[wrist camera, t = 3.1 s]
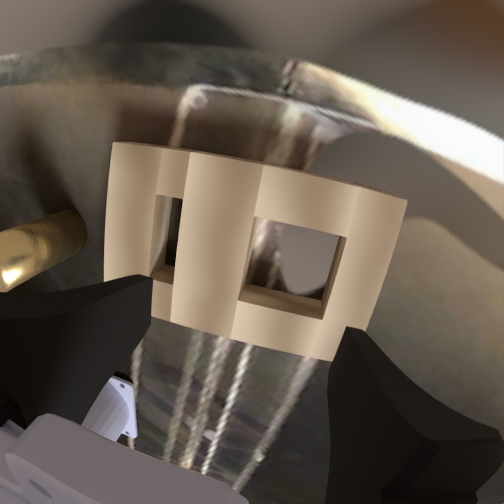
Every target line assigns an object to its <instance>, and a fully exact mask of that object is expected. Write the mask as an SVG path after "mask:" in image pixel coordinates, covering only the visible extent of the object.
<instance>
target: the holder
mask: <svg viewBox="0 0 504 504" xmlns="http://www.w3.org/2000/svg"><path fill="white" fill-rule="evenodd" d="M173 197H174V198H180V199H183V205H182V212H181V220H180V228H179V236H178V244H177V253H176V262H175V267H174V266H170V265H166V264H165V261H166V251H167V241H168V232H169V223H170V214H171V206H172V199H173ZM406 205H407V200H405V199H403V198H401V197H399V196H397V195H395V194H392V193H389V192H385V191H382V190H378V189H375V188H371V187H367V186H363V185H360V184H356V183H352V182H348V181H344V180H340V179H336V178H332V177H328V176H324V175H320V174H316V173H311V172H307V171H303V170H298V169H294V168H289V167H284V166H280V165H275V164H270V163H265V162H260V161H255V160H250V159H244V158H239V157H233V156H228V155H222V154H216V153H210V152H204V151H197V150H191V149H184V148H177V147H170V146H162V145H155V144H147V143H138V142H113V146H112V154H111V162H110V171H109V181H108V193H107V206H106V222H105V246H104V282H106V281H109V280H113V279H117V278H121V277H125V276H130V275H135V274H141V275H144V276H148V277H151V278H154V279H153V293H152V309H151V316H153V317H157V318H160V319H163V320H166V321H170V322H173V323H176V324H180V325H183V326H186V327H190V328H193V329H197V330H201V331H204V332H208V333H211V334H215V335H219V336H223V337H226V338H230V339H234V340H238V341H242V342H246V343H250V344H254V345H258V346H262V347H267V348H271V349H275V350H280V351H284V352H289V353H293V354H298V355H302V356H307V357H312V358H317V359H322V360H327V361H333V359H334V356H335V354H336V351H337V349H338V346H339V344H340V341H341V339H342V336H343V333H344V331H345V328H346V326H348V327H353V328H358V329H362V330H363V331H365V330H366V328H367V325H368V323H369V320H370V317H371V315H372V312H373V309H374V307H375V304H376V301H377V299H378V296H379V293H380V290H381V287H382V284H383V281H384V279H385V276H386V273H387V270H388V267H389V263H390V260H391V257H392V254H393V251H394V248H395V244H396V241H397V238H398V234H399V231H400V227H401V224H402V220H403V216H404V213H405V209H406ZM259 217H261V218H265V219H270V220H274V221H279V222H283V223H288V224H292V225H297V226H301V227H305V228H310V229H314V230H318V231H322V232H326V233H330V234H335V235H339V240H338V243H337V247H336V251H335V254H334V258H333V262H332V265H331V269H330V272H329V276H328V279H327V282H326V286H325V289H324V293H323V296H322V299H321V300H316V299H312V298H308V297H303V296H299V295H294V294H290V293H286V292H281V291H277V290H273V289H269V288H264V287H260V286H256V285H252V284H248V283H246V279H247V274H248V269H249V264H250V259H251V254H252V249H253V244H254V238H255V233H256V228H257V223H258V218H259Z"/></svg>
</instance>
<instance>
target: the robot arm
mask: <svg viewBox="0 0 504 504" xmlns="http://www.w3.org/2000/svg"><path fill="white" fill-rule="evenodd" d="M153 279H154V278H151V277H148V276H144V275H141V274H135V275H130V276H125V277H121V278H117V279H113V280H109V281H106V282H102V283H98V284H94V285H89V286H84V287H80V288H75V289H70V290H64V291H56V292H46V293H7V292H0V504H249V503H248V501H247V500H246V499H245V498H244V497H243V496H242V495H240V494H239V493H238V492H236V491H235V490H234V489H232V488H231V487H230V486H228V485H227V484H226V483H223V482H221V481H218V480H216V479H213V478H211V477H208V476H206V475H203V474H201V473H199V472H196V471H192V470H189V469H186V468H183V467H180V466H177V465H174V464H171V463H168V462H165V461H162V460H159V459H157V458H154V457H151V456H149V455H146V454H143V453H141V452H138V451H136V450H133V449H131V448H129V447H126V446H124V445H121V444H119V443H117V442H116V441H117V439H118V438H119V436H120V435H121V433H123V434H125V435H127V436H130V437H132V438H136V437H137V435H138V434H137V423H136V410H135V395H134V386H133V384H132V383H131V382H129V381H126V380H124V379H121V378H119V377H116V376H114V375H113V374H114V373H115V372H116V371H117V370H118V368H119V367H120V366H121V365H122V364H123V362H124V361H125V360H126V359H127V358H128V357H129V355H130V354H131V353H132V352H133V350H134V349H135V348H136V347H137V346H138V344H139V343H140V341H141V340H142V338H143V337H144V335H145V333H146V332H147V330H148V328H149V326H150V325H151V309H152V293H153ZM327 395H328V410H329V424H330V439H331V453H330V465H329V475H328V484H327V492H326V498H325V504H476V503H477V501H478V498H477V495H476V491H477V490H478V489H479V488H480V487H481V486H482V485H483V484H485V483H486V482H487V481H488V480H489V479H490V478H491V477H492V476H493V475H494V474H495V472H496V471H497V470H498V469H499V468H500V467H501V465H502V463H503V461H504V441H503V439H502V437H501V435H500V433H499V431H498V430H497V429H495V428H492V427H490V426H487V425H484V424H482V423H479V422H477V421H474V420H472V419H470V418H468V417H466V416H464V415H462V414H460V413H458V412H456V411H454V410H453V409H451V408H449V407H447V406H446V405H444V404H443V403H441V402H440V401H438V400H436V399H435V398H433V397H432V396H431V395H429V394H428V393H426V392H425V391H424V390H423V389H421V388H420V387H419V386H418V385H416V384H415V383H414V382H413V381H412V380H411V379H409V378H408V377H407V376H406V375H405V374H404V373H403V372H402V371H401V370H400V369H399V368H398V367H397V366H396V365H395V364H394V363H393V362H392V361H391V360H390V359H389V358H388V357H387V356H386V354H385V353H384V352H383V351H382V350H381V349H380V348H379V347H378V345H377V344H376V343H375V342H374V341H373V340H372V339H371V338H370V337H369V336H368V334H367V333H366V332H365V331H363V330H362V329H358V328H353V327H348V326H346V328H345V331H344V333H343V336H342V339H341V341H340V344H339V346H338V349H337V351H336V354H335V356H334V359H333V361H332V364H331V366H330V369H329V375H328V390H327Z"/></svg>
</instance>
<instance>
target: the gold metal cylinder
mask: <svg viewBox="0 0 504 504" xmlns="http://www.w3.org/2000/svg"><path fill="white" fill-rule="evenodd" d="M86 241H87V230H86V226H85V223H84V221H83V219H82V218H81V216H80V215H79V214H78V213H77V212H75V211H73V210H71V209H65V210H62V211H59V212H56V213H53V214H50V215H47V216H44V217H41V218H38V219H35V220H32V221H29V222H26V223H23V224H21V225H18V226H15V227H12V228H10V229H7V230H4V231H2V232H0V292H7V291H9V290H11V289H12V288H14V287H16V286H18V285H19V284H21V283H23V282H25V281H26V280H28V279H30V278H32V277H34V276H35V275H37V274H39V273H41V272H43V271H45V270H46V269H48V268H50V267H52V266H54V265H56V264H57V263H59V262H61V261H63V260H65V259H67V258H69V257H71V256H73V255H75V254H77V253H78V252H80V251H81V250H82V249H83V248H84V247H85V244H86Z"/></svg>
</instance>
